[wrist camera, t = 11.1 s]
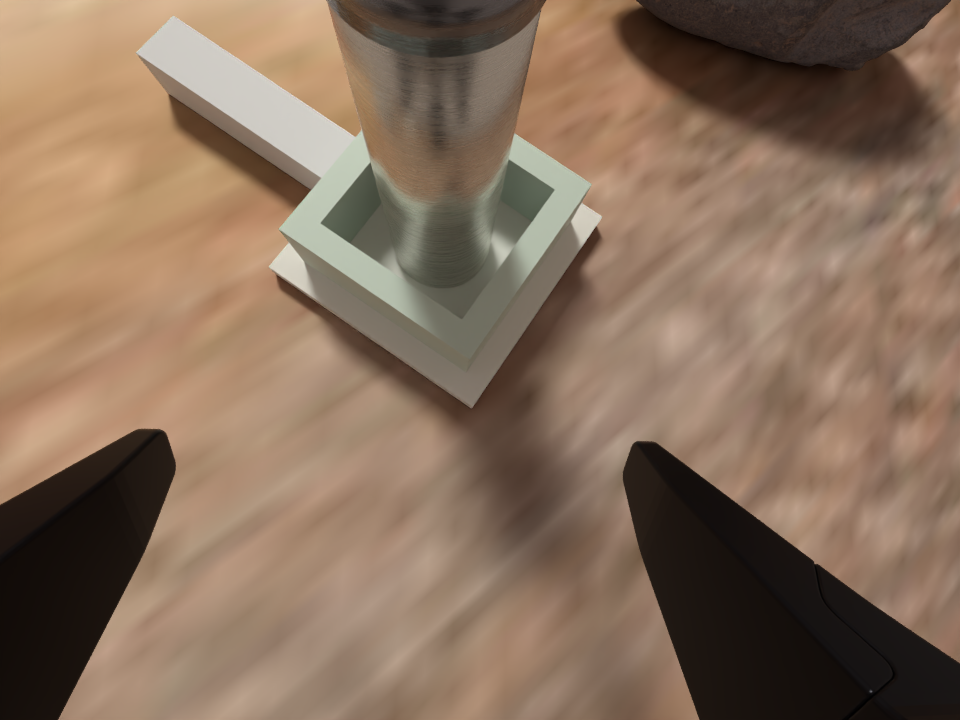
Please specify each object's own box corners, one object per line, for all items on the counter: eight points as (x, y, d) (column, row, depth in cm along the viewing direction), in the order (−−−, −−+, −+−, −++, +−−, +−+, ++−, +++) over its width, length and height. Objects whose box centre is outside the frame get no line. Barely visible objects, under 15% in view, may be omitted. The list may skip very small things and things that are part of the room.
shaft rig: (679, 103, 23) (724, 37, 19) (471, 408, 20) (477, 400, 16) (356, -104, 24) (339, -207, 20) (105, 157, 20) (29, 93, 17)
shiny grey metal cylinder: (511, 255, 20) (651, -159, 6) (429, 309, 19) (386, -18, 6) (453, 178, 21) (468, -362, 7) (371, 229, 20) (202, -256, 6)
